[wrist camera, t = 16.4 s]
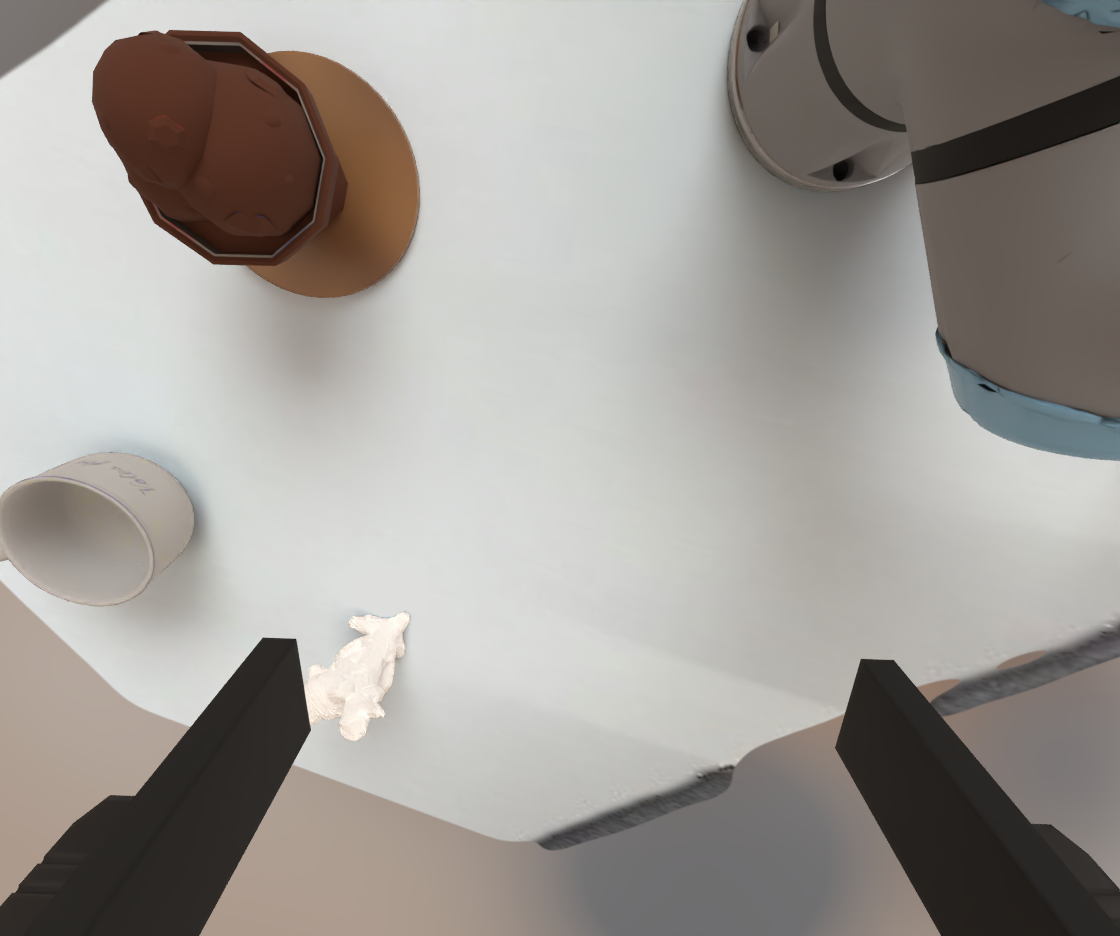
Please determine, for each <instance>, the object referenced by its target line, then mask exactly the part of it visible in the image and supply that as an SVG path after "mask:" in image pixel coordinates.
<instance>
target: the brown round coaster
mask: <svg viewBox="0 0 1120 936" xmlns="http://www.w3.org/2000/svg"><path fill="white" fill-rule="evenodd" d="M268 55H270V56H271V57H272V58H273V59H275V60H276V61H277V62H278V63H280V64H281V65H282V66H283V67H285V68H286V69H287V70H288V71H289V72H291V73H292V74H293V75H294V76H296V77H297V78H298V79H299V80H301V81H302V82H303V83H304V84H305V85H306V87H307V88H308V90H309V91H310V92H311V94H312V95H313V98H314V100H315V103H316V105H317V108H318V111H319V113H320V116H321V118H322V121H323V123H324V126H325V129H326V131H327V134H328V136H329V139H330V141H331V144H332V147H333V149H334V152H335V154H336V155H337V157H338V159H339V162H340V164H341V167H342V170H343V172H344V175H345V177H346V180H347V182H348V186H347V191H346V197H345V202H344V207H343V210H342V211H341V212H340V213H339V214H338V215H336V216H335V217H334V218H333V219H332V220H330V221H329V222H328V226H327V227H326V228H325V229H323V230H322V231H321V232H320V233H319V234H318V235H316V236H315V237H314V238H313V239H312V240H310V241H309V242H308V243H307V244H306V245H305V246H303V247H302V248H301V249H300V250H299V251H297V252H296V253H295V254H294V255H293V256H292V257H290V258H289V259H288V260H287V261H285V262H283V263H281V264H279V265H277V266H258V265H247V266H248V267H249V268H250V269H251V270H253V271H254V272H255V273H256V274H258V275H259V276H261V277H262V278H264V279H265V280H267V281H268V282H270V283H272V284H274V285H276V286H278V287H280V288H282V289H285V290H287V291H290V292H293V293H296V294H300V295H304V296H310V297H319V298H330V297H340V296H346V295H351V294H354V293H357V292H360V291H363V290H365V289H367V288H369V287H371V286H373V285H374V284H376V283H377V282H378V281H380V280H381V279H383V278H384V277H385V276H386V275H387V274H388V273H389V272H390V271H391V270H393V268H394V267H395V266H396V265H397V263H398V262H399V261H400V260H401V258H402V257H403V255H404V253H405V251H406V250H407V248H408V246H409V244H410V241H411V239H412V236H413V234H414V230H415V226H416V223H417V218H418V211H419V193H420V188H419V179H418V171H417V167H416V162H415V158H414V154H413V152H412V149H411V146H410V143H409V140H408V138H407V136H406V134H405V132H404V130H403V127H402V125H401V124H400V122H399V121H398V119H397V117H396V116H395V114H394V112H393V111H392V110H391V108H390V107H389V106H388V104H387V103H386V102H385V101H384V99H383V98H382V97H381V96H380V95H379V94H378V93H377V92H376V91H375V90H374V89H373V88H372V87H371V86H370V85H369V84H368V83H367V82H366V81H364V80H363V79H362V78H361V77H359V76H358V75H357V74H355V73H354V72H353V71H351V70H349V69H348V68H346V67H344V66H343V65H341V64H339V63H337V62H335V61H332V60H330V59H328V58H325V57H322V56H319V55H315V54H312V53H307V52H299V51H278V52H273V53H268Z"/></svg>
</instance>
